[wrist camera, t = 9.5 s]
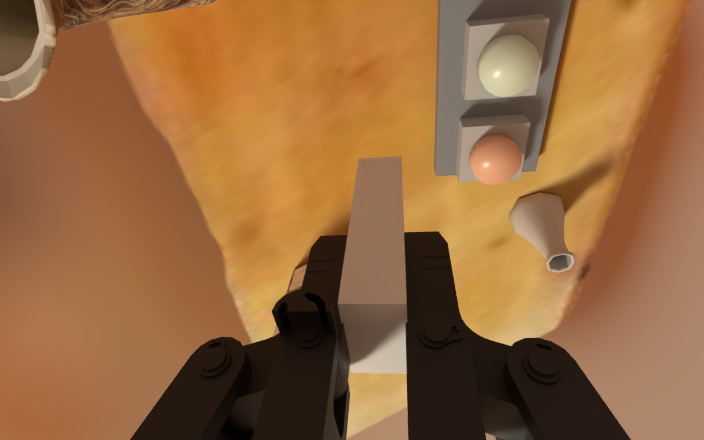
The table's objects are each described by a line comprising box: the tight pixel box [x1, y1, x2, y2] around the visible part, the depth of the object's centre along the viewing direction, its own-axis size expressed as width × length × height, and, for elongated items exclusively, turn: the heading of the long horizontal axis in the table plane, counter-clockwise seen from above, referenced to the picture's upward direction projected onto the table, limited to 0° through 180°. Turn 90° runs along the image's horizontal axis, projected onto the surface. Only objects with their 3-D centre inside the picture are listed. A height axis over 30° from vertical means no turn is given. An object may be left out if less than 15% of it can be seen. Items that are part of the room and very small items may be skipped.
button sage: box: [477, 34, 540, 97], centre depth 37 cm, size 5×5×4 cm
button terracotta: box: [469, 134, 522, 184], centre depth 43 cm, size 5×5×4 cm
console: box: [434, 0, 571, 182], centre depth 39 cm, size 28×12×4 cm, turn 6°
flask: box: [509, 192, 575, 272], centre depth 49 cm, size 7×7×10 cm
